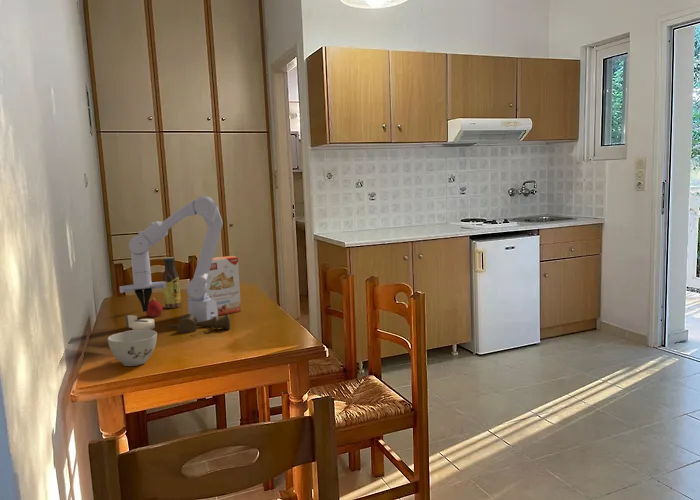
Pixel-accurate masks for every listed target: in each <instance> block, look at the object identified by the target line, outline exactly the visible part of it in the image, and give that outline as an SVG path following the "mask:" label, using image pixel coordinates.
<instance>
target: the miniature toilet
mask: <svg viewBox="0 0 700 500" xmlns="http://www.w3.org/2000/svg"><path fill="white" fill-rule="evenodd" d="M125 322H126V323H125V324H126V328H128V329H130V328H131V329H132V330H139V331H141V330H153V329H155V327H156V326H155V325H156V323H155V319H154V318H140V319H138V316H137V315H134V314H128V315H125ZM132 330H131V331H132Z"/></svg>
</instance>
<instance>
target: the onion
mask: <svg viewBox="0 0 700 500" xmlns="http://www.w3.org/2000/svg"><path fill="white" fill-rule="evenodd" d="M162 313H163V306H162V304H161V303H160V302H159V301H158V300H156V298H155V297H152V298H151V300H149V303H148V311H145V314H146V315H147V316H148V317H150V318H155V317H159V316H160V315H162Z"/></svg>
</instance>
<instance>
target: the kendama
mask: <svg viewBox="0 0 700 500" xmlns="http://www.w3.org/2000/svg"><path fill="white" fill-rule="evenodd" d="M166 327H167V328H176V331H177V333H178V334H186V333H194V332H197V327H201V328H202V327H203V328H213V329H214V330H218V329H226V330H228V331H229V330H230V329H231V316H230V315H229V313H228V314H225V316H220V317H219V316H218V317H217V316H215V317H214V318H213V319H210V320H205V321H200V322H197V319H196V317H195V316H194V315H192V314H189V313H186V314H184V315H182V316H181V317H180V320H179V321H178V323H175V324H168V325H167V326H166ZM192 336H194V334H191V335H190V337H192Z"/></svg>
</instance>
